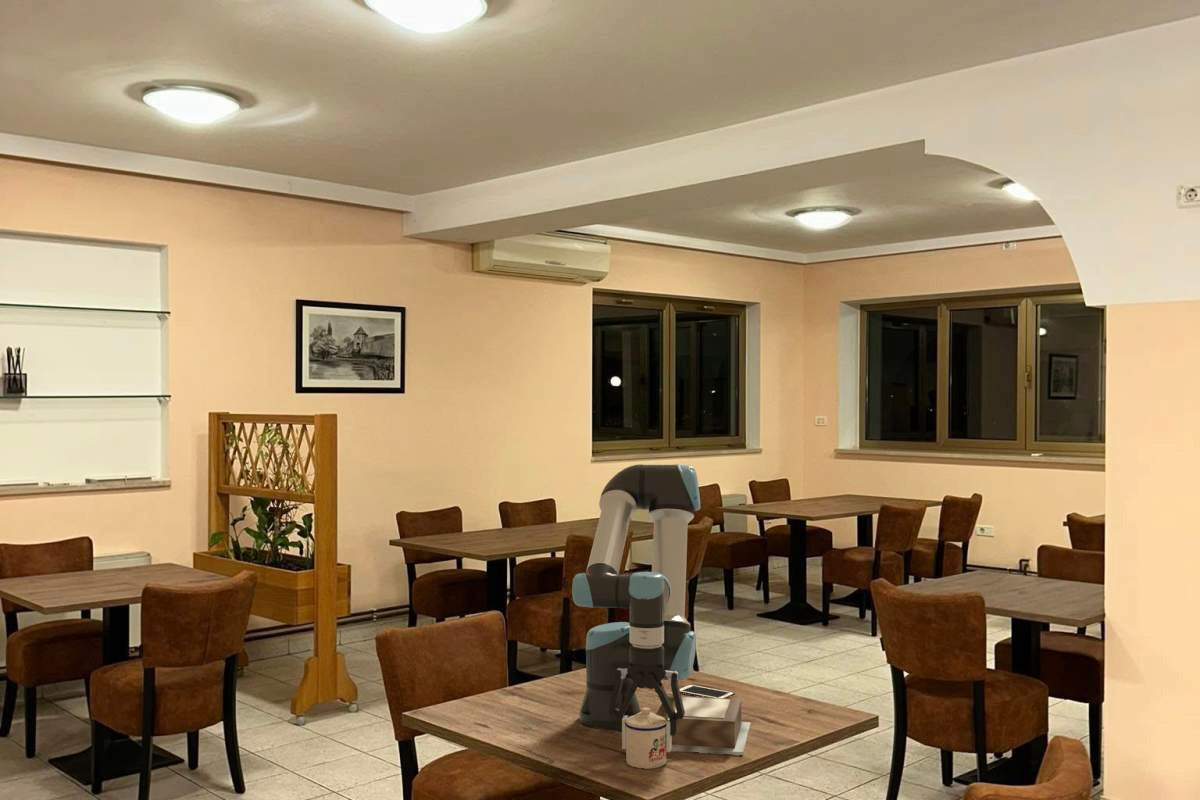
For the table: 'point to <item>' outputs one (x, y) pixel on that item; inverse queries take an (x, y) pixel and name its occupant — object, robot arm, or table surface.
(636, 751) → the teacup with lid
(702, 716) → the plinth
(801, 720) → the table surface
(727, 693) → the cell phone
